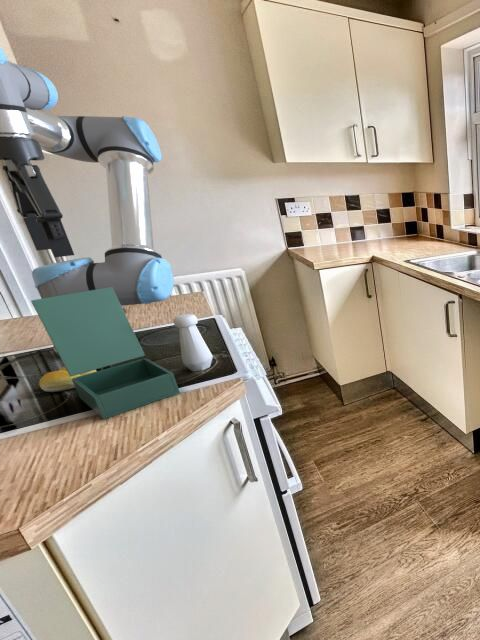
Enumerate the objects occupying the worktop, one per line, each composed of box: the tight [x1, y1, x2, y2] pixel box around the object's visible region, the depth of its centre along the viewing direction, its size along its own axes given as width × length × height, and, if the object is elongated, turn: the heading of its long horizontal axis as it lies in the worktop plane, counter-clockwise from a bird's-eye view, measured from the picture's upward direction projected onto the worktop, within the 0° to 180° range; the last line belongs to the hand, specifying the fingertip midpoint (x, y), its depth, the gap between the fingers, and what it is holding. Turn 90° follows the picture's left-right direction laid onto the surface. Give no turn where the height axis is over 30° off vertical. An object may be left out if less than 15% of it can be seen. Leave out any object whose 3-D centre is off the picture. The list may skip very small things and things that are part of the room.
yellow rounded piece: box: [38, 365, 98, 393], centre depth 92 cm, size 8×9×4 cm
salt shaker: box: [172, 313, 214, 372], centre depth 97 cm, size 6×6×13 cm
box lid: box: [30, 287, 146, 377], centre depth 88 cm, size 16×12×1 cm
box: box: [72, 357, 181, 420], centre depth 86 cm, size 15×12×5 cm
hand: (55, 252), depth 86 cm, fingers open, 13 cm apart
